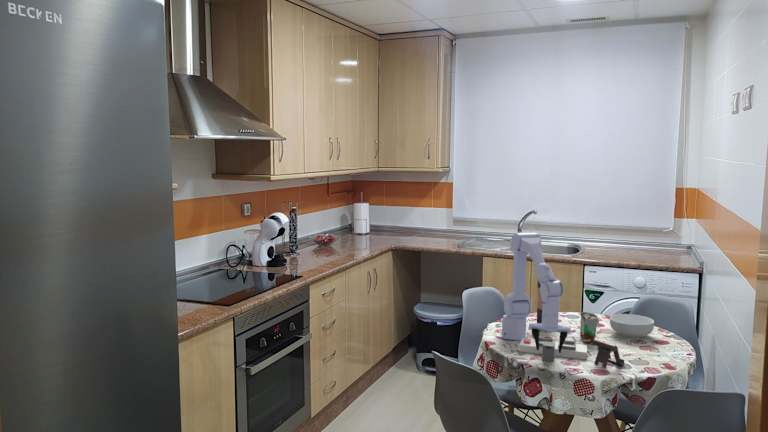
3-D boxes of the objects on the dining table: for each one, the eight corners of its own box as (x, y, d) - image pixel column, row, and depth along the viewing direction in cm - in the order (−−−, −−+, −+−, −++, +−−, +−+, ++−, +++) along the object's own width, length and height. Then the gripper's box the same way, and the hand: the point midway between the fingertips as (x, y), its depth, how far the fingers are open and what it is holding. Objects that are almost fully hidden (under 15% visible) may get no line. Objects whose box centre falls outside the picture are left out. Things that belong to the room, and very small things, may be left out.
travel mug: (556, 330, 250) (558, 284, 248) (538, 330, 250) (540, 283, 248) (551, 325, 258) (553, 280, 256) (534, 325, 258) (536, 279, 256)
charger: (542, 361, 214) (542, 345, 213) (543, 357, 218) (543, 341, 218) (553, 363, 212) (554, 346, 212) (554, 358, 217) (555, 342, 216)
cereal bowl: (633, 328, 255) (634, 312, 255) (662, 339, 240) (663, 322, 239) (600, 331, 250) (601, 315, 249) (628, 343, 234) (629, 326, 234)
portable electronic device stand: (624, 366, 210) (626, 343, 209) (610, 370, 206) (611, 346, 205) (603, 358, 217) (604, 336, 217) (589, 362, 213) (590, 340, 212)
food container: (600, 345, 232) (601, 320, 231) (583, 344, 233) (584, 319, 232) (595, 336, 244) (596, 312, 243) (579, 335, 245) (580, 311, 244)
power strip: (519, 351, 224) (519, 341, 224) (521, 344, 233) (522, 334, 232) (586, 359, 216) (586, 349, 216) (586, 351, 225) (587, 341, 224)
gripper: (528, 314, 212) (527, 351, 214) (571, 318, 207) (569, 356, 209) (530, 309, 219) (529, 345, 220) (571, 313, 214) (570, 350, 216)
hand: (548, 350), depth 215 cm, fingers open, 7 cm apart
